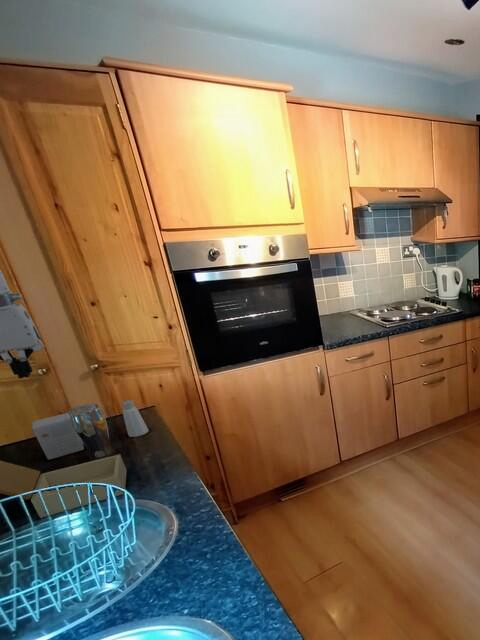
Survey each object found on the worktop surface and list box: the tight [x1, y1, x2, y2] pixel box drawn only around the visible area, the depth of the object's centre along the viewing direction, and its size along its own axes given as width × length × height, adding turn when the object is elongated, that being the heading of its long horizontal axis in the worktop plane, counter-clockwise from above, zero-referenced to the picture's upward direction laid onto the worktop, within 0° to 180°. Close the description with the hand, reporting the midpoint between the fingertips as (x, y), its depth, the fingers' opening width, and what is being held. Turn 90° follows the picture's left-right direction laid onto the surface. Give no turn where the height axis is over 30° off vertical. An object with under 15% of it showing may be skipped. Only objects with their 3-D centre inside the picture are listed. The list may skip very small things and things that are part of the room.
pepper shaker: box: [120, 399, 149, 438], centre depth 140 cm, size 5×5×11 cm
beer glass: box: [67, 403, 118, 461], centre depth 127 cm, size 7×7×15 cm
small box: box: [31, 412, 85, 461], centre depth 130 cm, size 8×6×10 cm
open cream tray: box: [30, 453, 127, 519], centre depth 113 cm, size 16×13×5 cm
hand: (25, 376), depth 109 cm, fingers closed
